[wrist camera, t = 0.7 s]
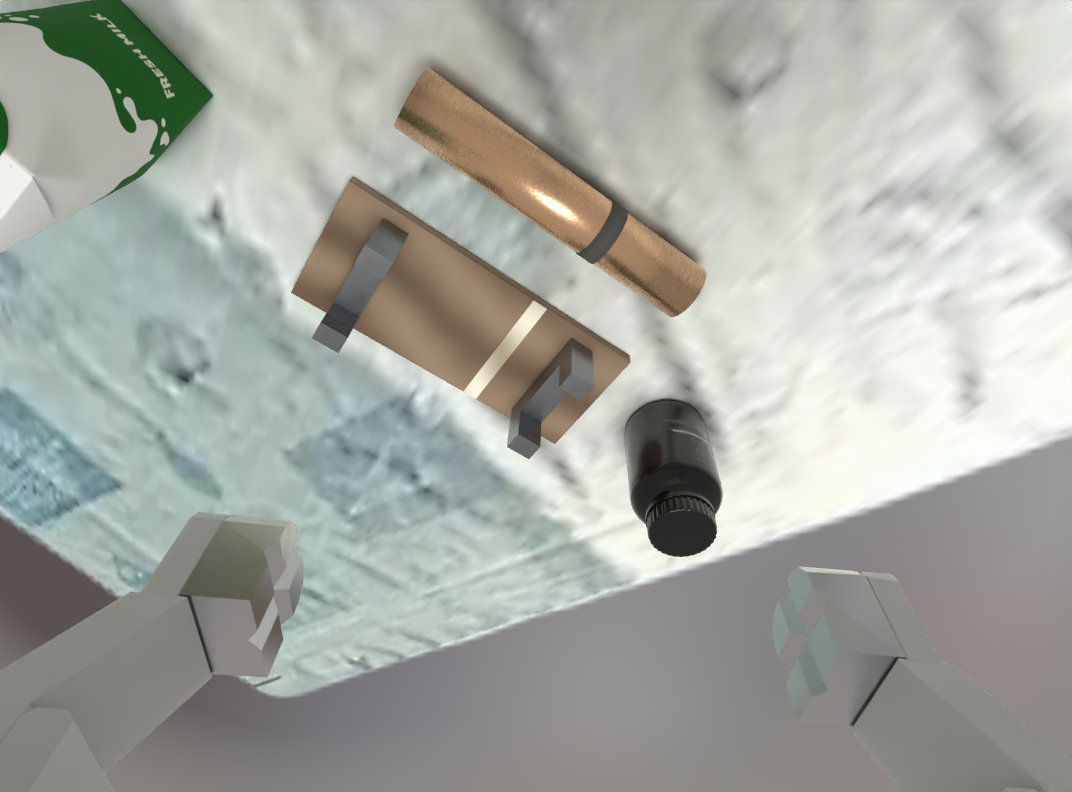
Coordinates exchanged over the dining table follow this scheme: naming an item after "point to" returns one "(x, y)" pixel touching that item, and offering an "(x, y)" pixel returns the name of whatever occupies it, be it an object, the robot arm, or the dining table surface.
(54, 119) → the milk carton
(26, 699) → the robot arm
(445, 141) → the copper tube
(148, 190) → the dining table surface
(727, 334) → the dining table surface
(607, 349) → the cradle board
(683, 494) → the supplement bottle
